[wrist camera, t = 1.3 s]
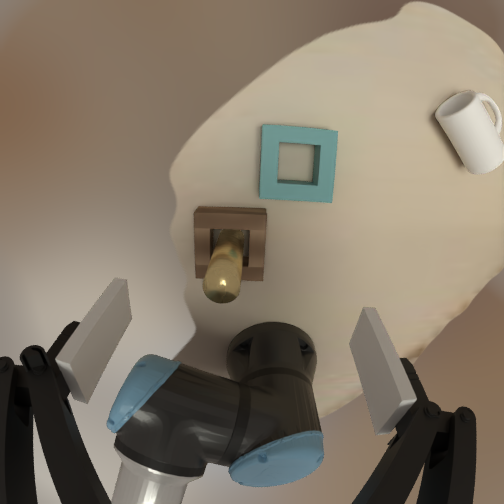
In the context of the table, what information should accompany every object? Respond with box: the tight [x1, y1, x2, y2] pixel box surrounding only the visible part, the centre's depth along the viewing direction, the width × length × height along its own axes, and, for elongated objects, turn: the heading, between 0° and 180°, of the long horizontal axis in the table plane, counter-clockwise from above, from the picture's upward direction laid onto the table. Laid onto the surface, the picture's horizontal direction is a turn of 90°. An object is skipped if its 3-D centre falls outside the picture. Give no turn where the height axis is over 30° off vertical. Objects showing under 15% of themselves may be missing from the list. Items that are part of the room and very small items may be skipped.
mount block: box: [194, 206, 267, 281], centre depth 40 cm, size 9×9×4 cm
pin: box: [203, 229, 244, 303], centre depth 35 cm, size 4×4×14 cm
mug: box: [435, 90, 504, 174], centre depth 30 cm, size 12×10×8 cm
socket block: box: [259, 124, 338, 203], centre depth 36 cm, size 9×9×4 cm
